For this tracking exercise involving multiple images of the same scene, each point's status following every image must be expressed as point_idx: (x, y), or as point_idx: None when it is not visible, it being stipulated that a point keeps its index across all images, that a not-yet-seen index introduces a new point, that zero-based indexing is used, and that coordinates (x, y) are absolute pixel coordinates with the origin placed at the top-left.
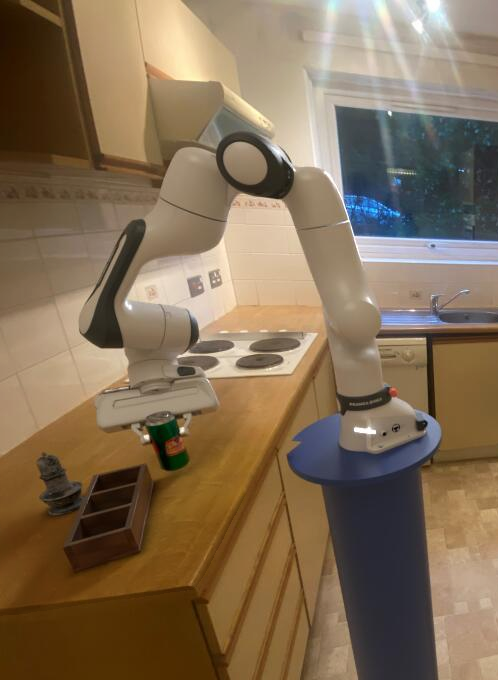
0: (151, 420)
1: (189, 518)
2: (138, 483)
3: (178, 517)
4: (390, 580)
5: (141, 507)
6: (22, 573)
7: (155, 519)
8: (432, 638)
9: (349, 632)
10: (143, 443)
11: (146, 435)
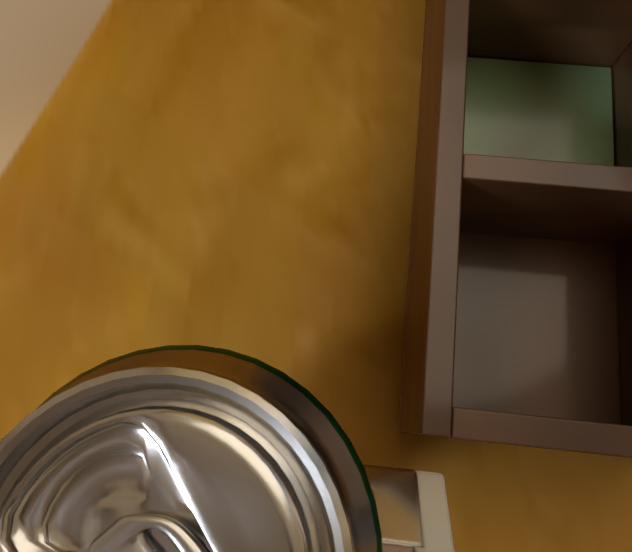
0: (266, 409)
1: (269, 10)
2: (450, 151)
3: (306, 41)
4: None
5: (432, 42)
6: None
7: (388, 80)
8: None
9: None
10: (424, 473)
11: (390, 534)
